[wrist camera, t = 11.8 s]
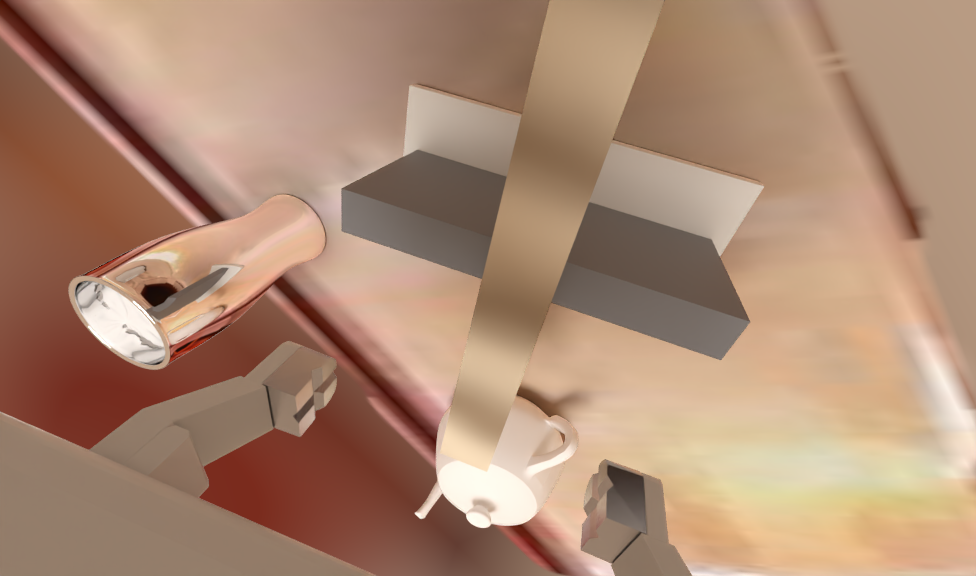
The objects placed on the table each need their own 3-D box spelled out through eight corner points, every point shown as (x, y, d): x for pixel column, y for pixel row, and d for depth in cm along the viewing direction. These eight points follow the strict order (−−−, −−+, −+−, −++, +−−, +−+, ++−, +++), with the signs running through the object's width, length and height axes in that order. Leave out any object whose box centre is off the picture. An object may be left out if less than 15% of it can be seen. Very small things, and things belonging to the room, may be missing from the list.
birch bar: (578, -53, 13) (567, -77, 10) (671, -32, 12) (683, -51, 10) (456, 414, 26) (439, 452, 24) (499, 431, 26) (486, 472, 23)
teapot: (479, 484, 47) (449, 577, 39) (404, 418, 45) (355, 503, 36) (624, 432, 37) (625, 546, 28) (536, 342, 34) (509, 438, 26)
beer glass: (286, 172, 32) (80, 250, 20) (345, 239, 34) (189, 349, 22) (248, 215, 36) (53, 304, 24) (303, 274, 38) (149, 386, 25)
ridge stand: (415, 83, 26) (321, 101, 18) (759, 181, 23) (834, 255, 15) (403, 220, 32) (326, 282, 23) (678, 311, 29) (701, 417, 21)
